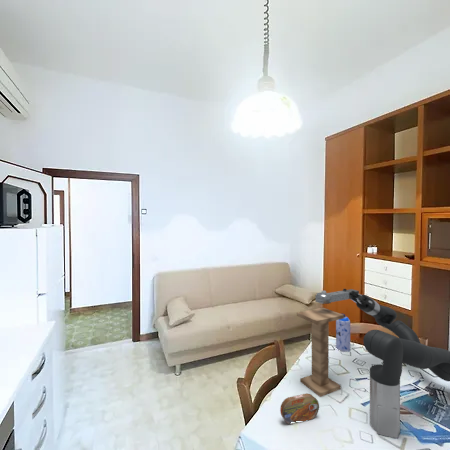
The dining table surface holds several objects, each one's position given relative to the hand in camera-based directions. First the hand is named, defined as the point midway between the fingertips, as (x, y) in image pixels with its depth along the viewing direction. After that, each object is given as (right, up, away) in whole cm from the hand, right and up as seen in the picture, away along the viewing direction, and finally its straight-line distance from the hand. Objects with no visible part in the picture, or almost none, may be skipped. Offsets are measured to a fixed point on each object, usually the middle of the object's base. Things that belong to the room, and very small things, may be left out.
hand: (347, 291), depth 129 cm
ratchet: (-6, -3, -3) cm, 7 cm away
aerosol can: (+9, -40, +26) cm, 48 cm away
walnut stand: (-16, -40, -9) cm, 44 cm away
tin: (-31, -40, -29) cm, 59 cm away
